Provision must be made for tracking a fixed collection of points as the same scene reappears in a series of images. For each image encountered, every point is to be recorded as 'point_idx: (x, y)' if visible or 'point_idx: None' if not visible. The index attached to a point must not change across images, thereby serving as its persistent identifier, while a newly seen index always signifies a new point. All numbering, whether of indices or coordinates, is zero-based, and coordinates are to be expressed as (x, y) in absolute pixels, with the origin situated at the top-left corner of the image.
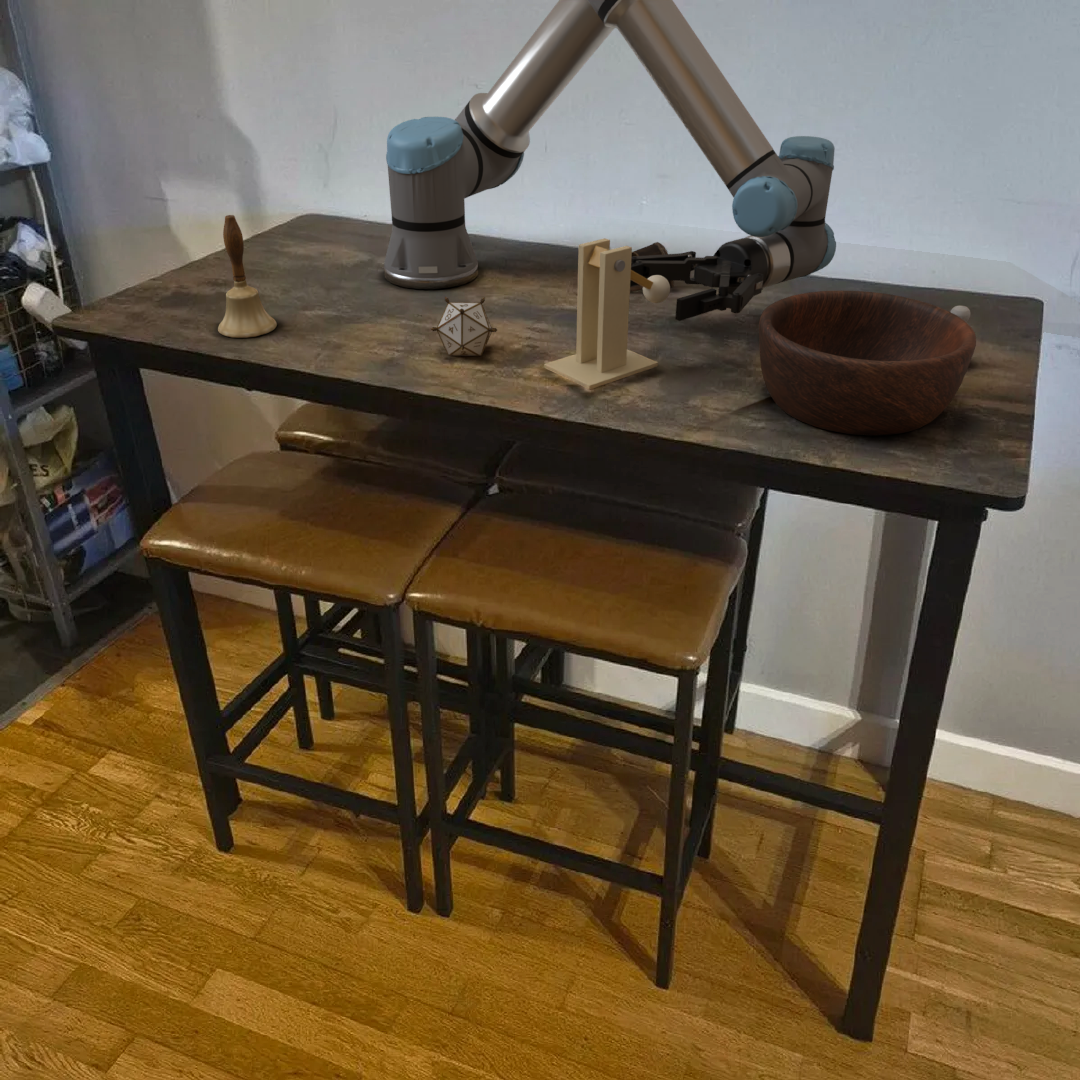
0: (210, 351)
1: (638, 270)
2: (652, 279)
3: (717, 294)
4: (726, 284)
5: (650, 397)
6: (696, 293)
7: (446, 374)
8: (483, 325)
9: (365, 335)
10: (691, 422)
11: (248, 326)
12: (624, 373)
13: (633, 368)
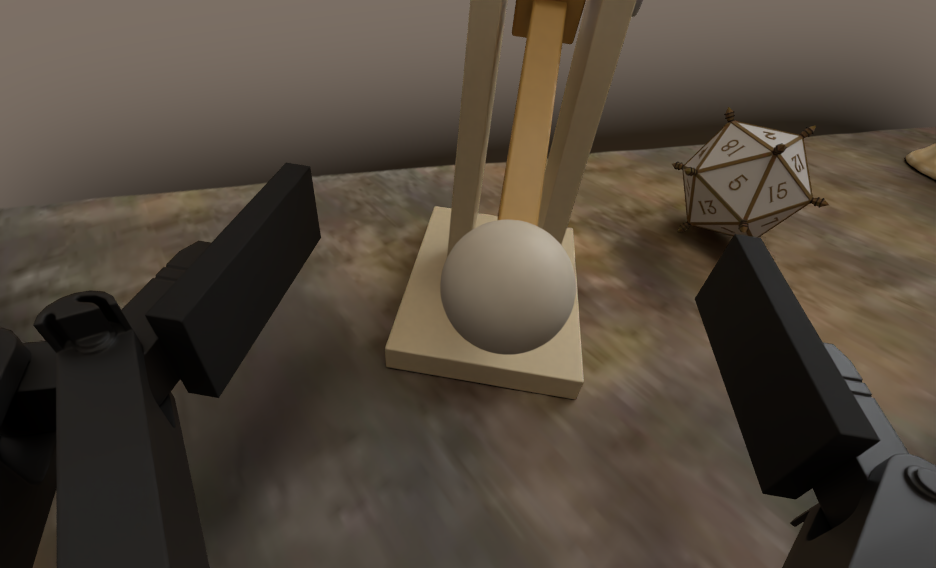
0: (861, 134)
1: (800, 417)
2: (515, 220)
3: (149, 346)
4: (81, 464)
5: (327, 265)
6: (250, 228)
7: (659, 188)
8: (703, 159)
9: (884, 218)
10: (200, 230)
11: (925, 151)
12: (414, 264)
13: (415, 291)
